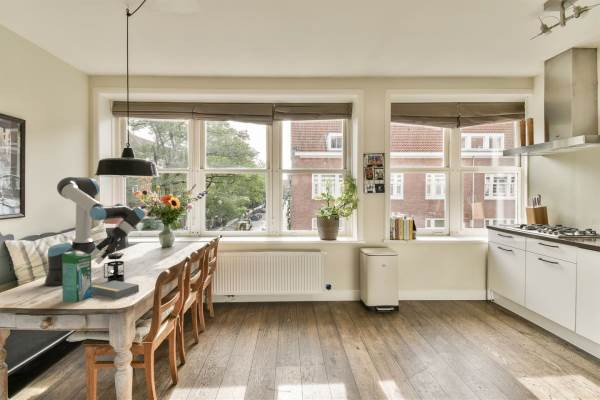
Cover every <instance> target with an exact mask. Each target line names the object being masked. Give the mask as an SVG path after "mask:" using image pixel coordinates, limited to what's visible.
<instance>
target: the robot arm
mask: <svg viewBox="0 0 600 400" xmlns="http://www.w3.org/2000/svg"><path fill="white" fill-rule="evenodd" d="M56 190H57V192H58V194H59V195H60V196H61V197H63V198H64V199H66V200H70V201H72V202H73V203H74V204H75V231H74V232H75V236H74V239H73V240H72V243H70V242H64V243H57V244H53V245H51V246H50V247H49V248H48V249H47V250H48V252H47V265H48V267H47V269H48V271H47V274H46V276H45V278H44V279H45V280H44V285H45V286H47V287H59V286H63V283H62V253H65V252H69V251H74V250H79V251H82V252H84V253H87V254H90V255H91V261H92V260H94V259H95V257H97V255H98V254H99V253H100V252H102V250H103V252H102V253H101V254H100V255H99V256H98V257H97V258H96V259H95V260H94V262H95V263H97V264H98V265H100V264H101V263H102V262H104V260H105V259H106V258H107V257H108V255H109V254H114V251H115V248H116V249H117V247H118V246H117V245H120V243H121V242H122V240H125V238H126V237H127V236H128V235H129V234H131V232H133V230H134V229H135V227H137V226H138V225H139V223H140V222H142V221H143V219H144V218H145V217H146V215H147V213H146V212H145V210H144V209H142V208H141V207H140V206H136V207H133V208H131V207H129V206H127V205H126V204H123V203H118V202H117V203H116V204H114V205H108V206H106V205H104V204H103V203H101V202H100V201H98V200H96V196H98V195H99V193H100V184H99V183H98V180H97V179H95V178H92V177H84V176H83V177H80V176H79V177H74V176H69V177H65V178H62V179H61V180H59V182H58V183H57V185H56ZM117 219H118V220H119V219H122V220H121V221H120V222H119V223H118V224H117V226H115V227H114V228H113V230H111V232H112V233H113V234H109V235H108V236H107V237H106V238H103V240H102V241H101V242H99V243H98V244H97V243H96V242H95V241H94V239H93V237H92V224H93V223H92V221H106V220H117ZM106 247H107V248H106ZM105 248H106V249H105Z"/></svg>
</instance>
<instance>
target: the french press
mask: <svg viewBox="0 0 600 400" xmlns="http://www.w3.org/2000/svg"><path fill="white" fill-rule="evenodd" d="M119 246H120V244H118V245H117V247H119ZM117 247H116V248H115V250H114V251H115V252H114V253H112V254H111V253H110V254H109V255H108V256H107V257H108V260H112V261H109V262H106V263H103V278H104V279H107V282H110V281H114V280H115V281H120V282H125V262H124V261H123V260H120V259H121V258H122V257H123V256H124V255H125V254H124V253H121V252H120V253H117ZM106 266H107V268H106ZM119 266H122V267H123V268H122V269H119ZM109 267H112V270H109ZM105 269H107V270H108V271H107V274H108V275H107V276H106V270H105ZM121 273H123V274H121ZM109 274H110V275H109ZM107 282H106V283H107Z"/></svg>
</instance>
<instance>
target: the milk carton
mask: <svg viewBox="0 0 600 400" xmlns="http://www.w3.org/2000/svg"><path fill="white" fill-rule="evenodd" d="M62 283H63V285H62V301H64V302H70V303H71V302H72V303H73V302H74V303H79V302H81V301H83V300H87V299H88V298H89V299H90V298H91V297H92V295H93V294H92V291H91V287H92V260H91V255H90V254H87V253H84V252H82V251H79V250H74V251H69V252H65V253H62Z"/></svg>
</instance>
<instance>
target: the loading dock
mask: <svg viewBox="0 0 600 400" xmlns="http://www.w3.org/2000/svg"><path fill="white" fill-rule="evenodd" d="M91 291H92V295H94V296H99V297H103V298H108V299H114V300H119V299H122V298H124V297H128V296H130V294H131V295H133V293H134V294H136V292H137V293H139V291H140V285H139V284H137V283H132V282H126V281H123V282H120V281H115V280H114V281H110V282H103V283H99V284H96V285H91Z"/></svg>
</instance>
